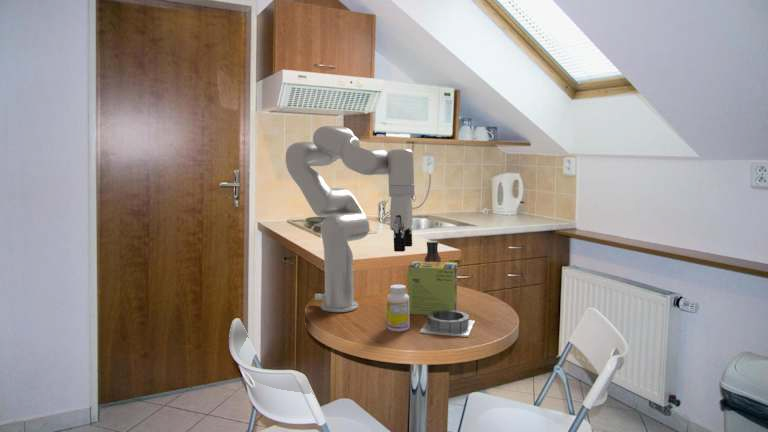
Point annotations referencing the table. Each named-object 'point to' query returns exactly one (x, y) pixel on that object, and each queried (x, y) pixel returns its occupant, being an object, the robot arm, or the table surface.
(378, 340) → the table surface
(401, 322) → the supplement bottle
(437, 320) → the ring collar
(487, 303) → the table surface
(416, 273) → the protein box
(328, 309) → the robot arm
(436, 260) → the sauce bottle
